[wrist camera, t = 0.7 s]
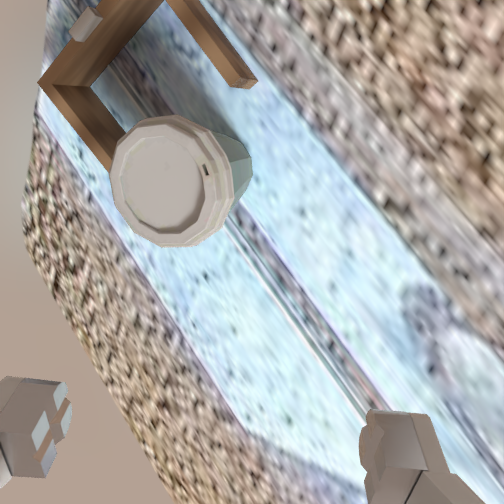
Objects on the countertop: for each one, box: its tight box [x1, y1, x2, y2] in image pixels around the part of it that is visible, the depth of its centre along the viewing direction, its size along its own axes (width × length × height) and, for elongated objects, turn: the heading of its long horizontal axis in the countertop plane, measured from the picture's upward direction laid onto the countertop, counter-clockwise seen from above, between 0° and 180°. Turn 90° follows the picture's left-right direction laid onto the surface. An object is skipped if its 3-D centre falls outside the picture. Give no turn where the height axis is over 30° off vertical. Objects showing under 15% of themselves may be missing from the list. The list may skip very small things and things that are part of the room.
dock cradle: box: [37, 0, 258, 173], centre depth 42 cm, size 13×16×7 cm
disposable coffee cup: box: [109, 114, 253, 247], centre depth 39 cm, size 11×11×15 cm
